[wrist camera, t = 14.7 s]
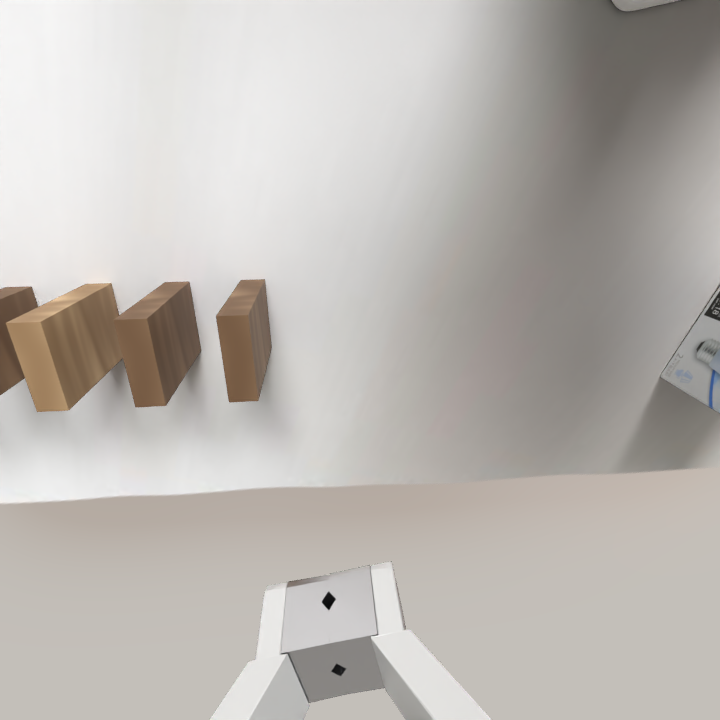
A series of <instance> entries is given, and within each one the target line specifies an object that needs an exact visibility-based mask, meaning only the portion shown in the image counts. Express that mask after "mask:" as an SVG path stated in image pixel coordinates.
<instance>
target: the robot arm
mask: <svg viewBox="0 0 720 720" xmlns="http://www.w3.org/2000/svg"><path fill="white" fill-rule="evenodd" d="M675 1H679V0H612V2H613V3H614V5H615V6H616V7H617V8H618V9H620V10H622V11H634V10H639V9H644V8H648V7H652V6H657V5H661V4H666V3H670V2H675ZM381 688H385V689H386V691H387V693H388V694H389V696H390V697H391V699H392V700H393V702H394V703H395V705H396V706H397V708H398V709H399V711H400V712H401V714H402V715H403V717H404V718H405V719H406V720H491V719H490V718H489V717H488V716H487V714H486V713H485V712H484V711H483V710H482V709H481V708H480V707H479V705H478V704H477V703H476V702H475V701H474V700H473V699H472V697H471V696H470V695H469V694H468V693H467V692H466V691H465V690H464V689H463V687H462V686H461V685H460V684H459V683H458V682H457V681H456V680H455V679H454V677H453V676H452V675H451V674H450V673H449V672H448V671H447V669H446V668H445V667H444V666H443V665H442V664H441V663H440V662H439V661H438V659H437V658H436V657H435V656H434V655H433V654H432V653H431V652H430V650H429V649H428V648H427V647H426V646H425V645H424V644H423V643H422V641H421V640H420V639H419V638H418V637H417V636H416V635H415V634H414V632H413V631H412V630H411V629H408V630H406V626H405V621H404V616H403V611H402V606H401V601H400V597H399V593H398V587H397V583H396V578H395V573H394V569H393V564H392V561H390V562H385V563H380V564H375V565H371V566H370V565H368V566H363V567H358V568H354V569H349V570H344V571H340V572H335V573H331V574H330V575H325V576H319V577H313V578H307V579H301V580H296V581H289V582H284V583H279V584H274V585H269V586H267V588H266V590H265V592H264V598H263V605H262V613H261V620H260V627H259V634H258V642H257V649H256V657H255V660H251V661H248V663H247V664H246V666H245V667H244V669H243V670H242V672H241V673H240V675H239V676H238V678H237V679H236V681H235V682H234V684H233V685H232V687H231V688H230V690H229V691H228V693H227V694H226V696H225V697H224V699H223V700H222V702H221V703H220V705H219V706H218V708H217V709H216V711H215V712H214V714H213V715H212V717H211V718H210V720H304V718H305V715H306V713H307V710H308V708H309V703H311V702H315V701H319V700H324V699H328V698H333V697H337V696H341V695H345V694H351V693H357V692H363V691H369V690H375V689H381Z"/></svg>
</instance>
